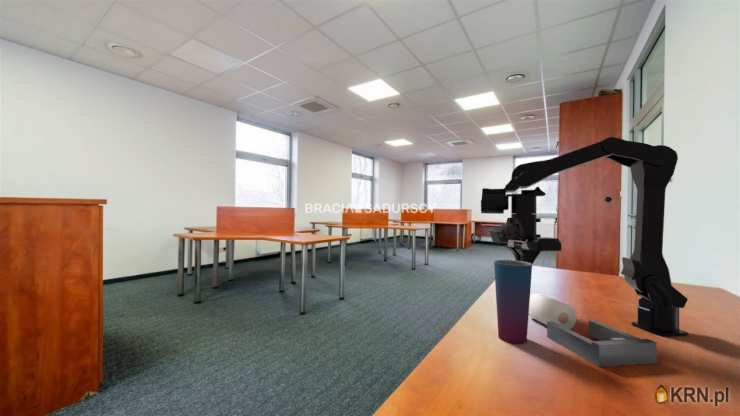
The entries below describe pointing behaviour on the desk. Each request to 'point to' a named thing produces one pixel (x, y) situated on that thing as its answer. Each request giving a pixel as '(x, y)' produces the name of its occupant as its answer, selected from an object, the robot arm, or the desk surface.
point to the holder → (605, 345)
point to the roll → (551, 311)
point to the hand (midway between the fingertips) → (523, 274)
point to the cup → (512, 299)
